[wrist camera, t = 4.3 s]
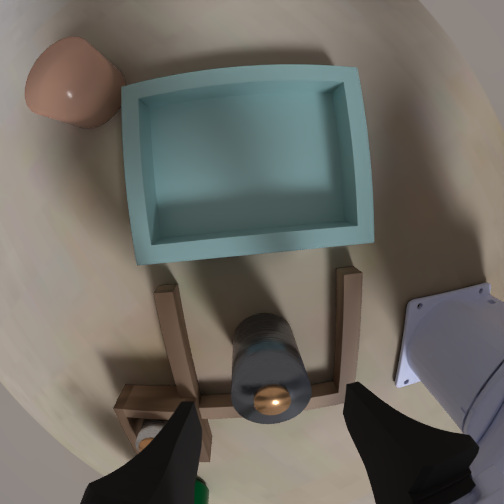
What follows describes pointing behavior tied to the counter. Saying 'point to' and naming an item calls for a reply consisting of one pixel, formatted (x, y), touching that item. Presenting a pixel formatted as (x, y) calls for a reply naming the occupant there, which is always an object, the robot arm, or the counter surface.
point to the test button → (148, 432)
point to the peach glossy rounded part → (74, 84)
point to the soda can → (201, 493)
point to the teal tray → (246, 162)
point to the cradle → (221, 403)
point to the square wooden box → (155, 411)
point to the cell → (267, 371)
